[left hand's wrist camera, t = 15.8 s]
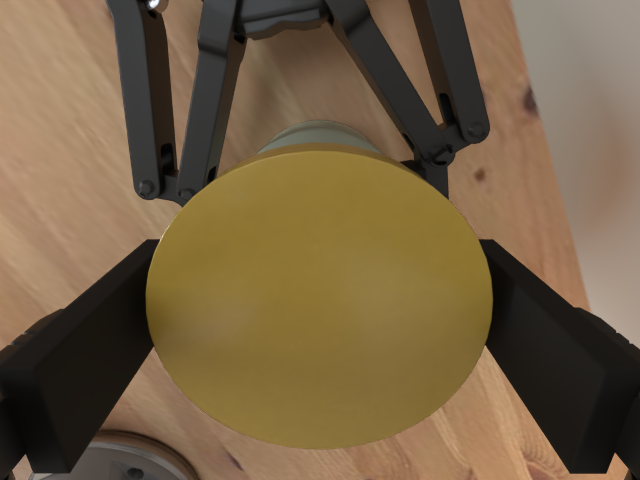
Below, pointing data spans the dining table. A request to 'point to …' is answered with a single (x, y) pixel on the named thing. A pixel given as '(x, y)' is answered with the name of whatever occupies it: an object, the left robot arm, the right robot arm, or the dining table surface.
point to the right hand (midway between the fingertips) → (333, 295)
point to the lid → (319, 297)
